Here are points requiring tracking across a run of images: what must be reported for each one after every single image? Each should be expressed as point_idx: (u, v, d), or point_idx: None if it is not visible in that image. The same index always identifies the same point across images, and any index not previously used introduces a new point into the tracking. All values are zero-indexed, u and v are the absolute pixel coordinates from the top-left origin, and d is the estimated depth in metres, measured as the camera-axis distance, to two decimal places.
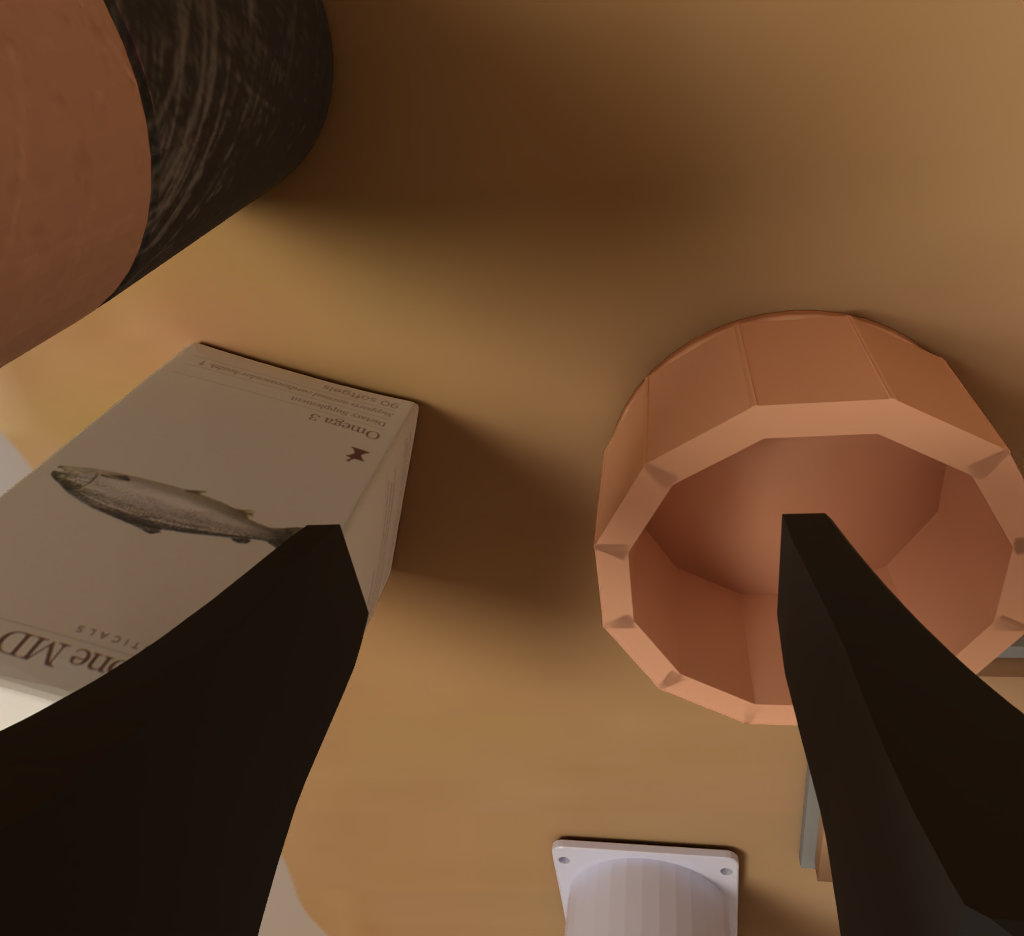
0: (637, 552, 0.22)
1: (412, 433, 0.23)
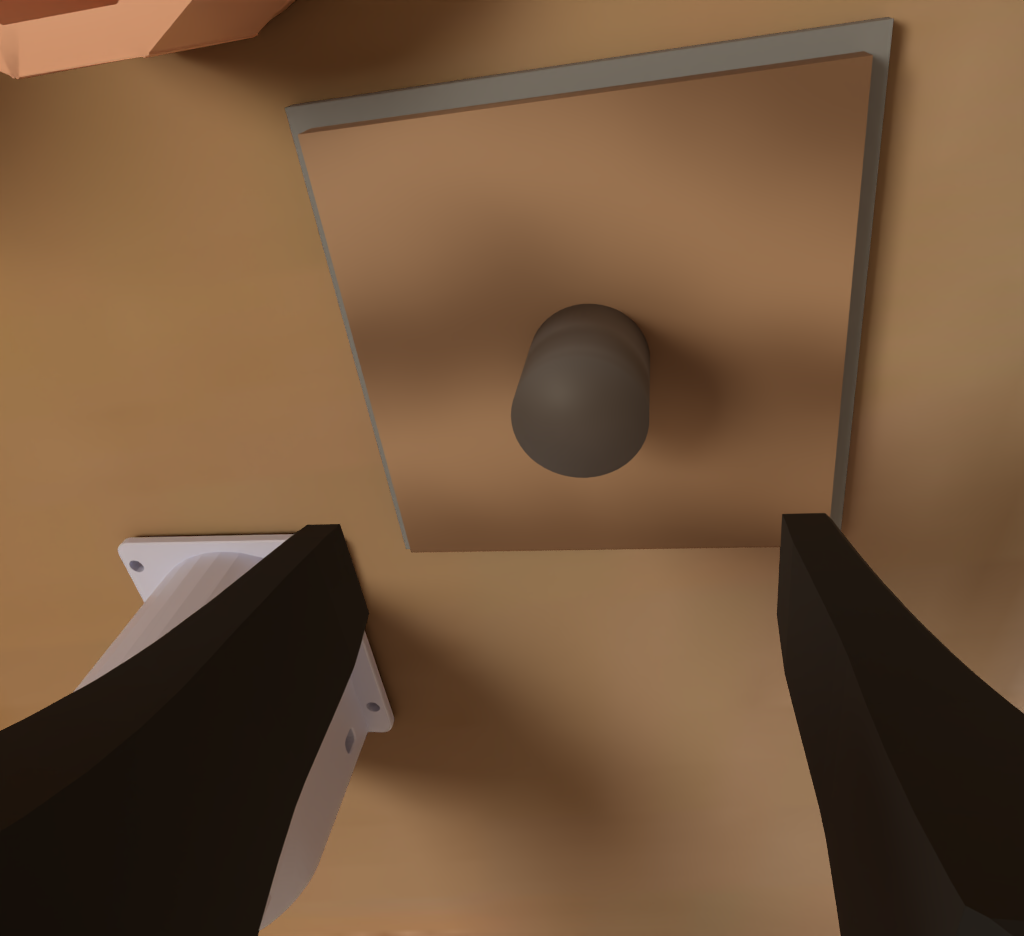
0: None
1: None
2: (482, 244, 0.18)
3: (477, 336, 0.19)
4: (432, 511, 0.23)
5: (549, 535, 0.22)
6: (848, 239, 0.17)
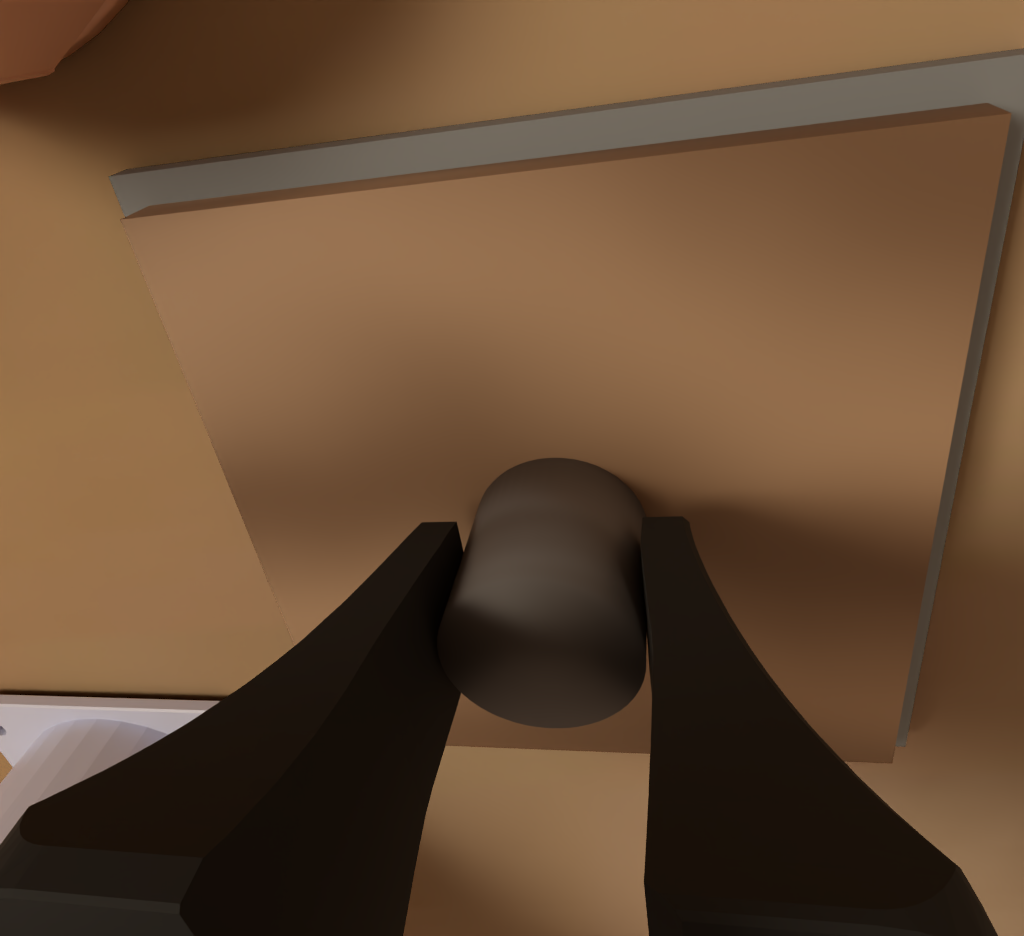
0: None
1: None
2: (401, 375, 0.12)
3: (402, 494, 0.14)
4: None
5: (513, 732, 0.17)
6: (950, 384, 0.11)
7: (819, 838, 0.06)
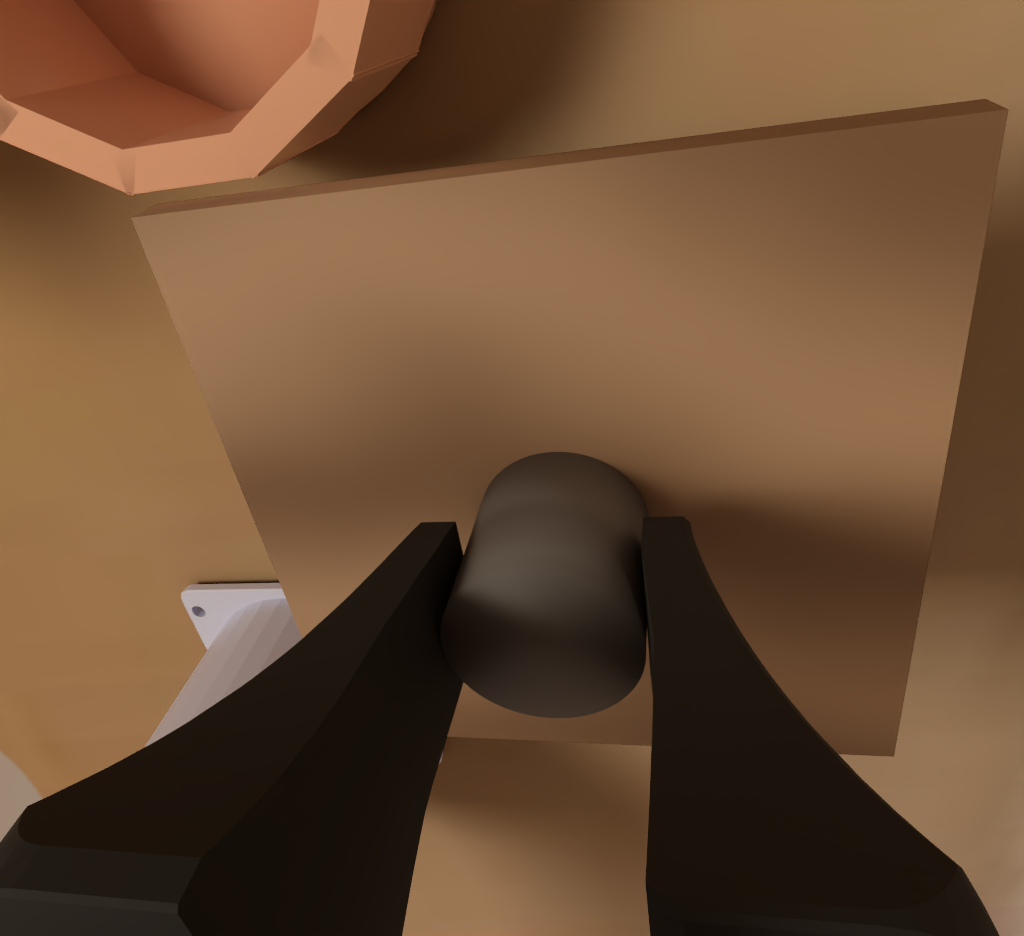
0: None
1: None
2: (406, 370, 0.12)
3: (407, 487, 0.14)
4: None
5: (517, 724, 0.17)
6: (949, 379, 0.11)
7: (820, 838, 0.06)
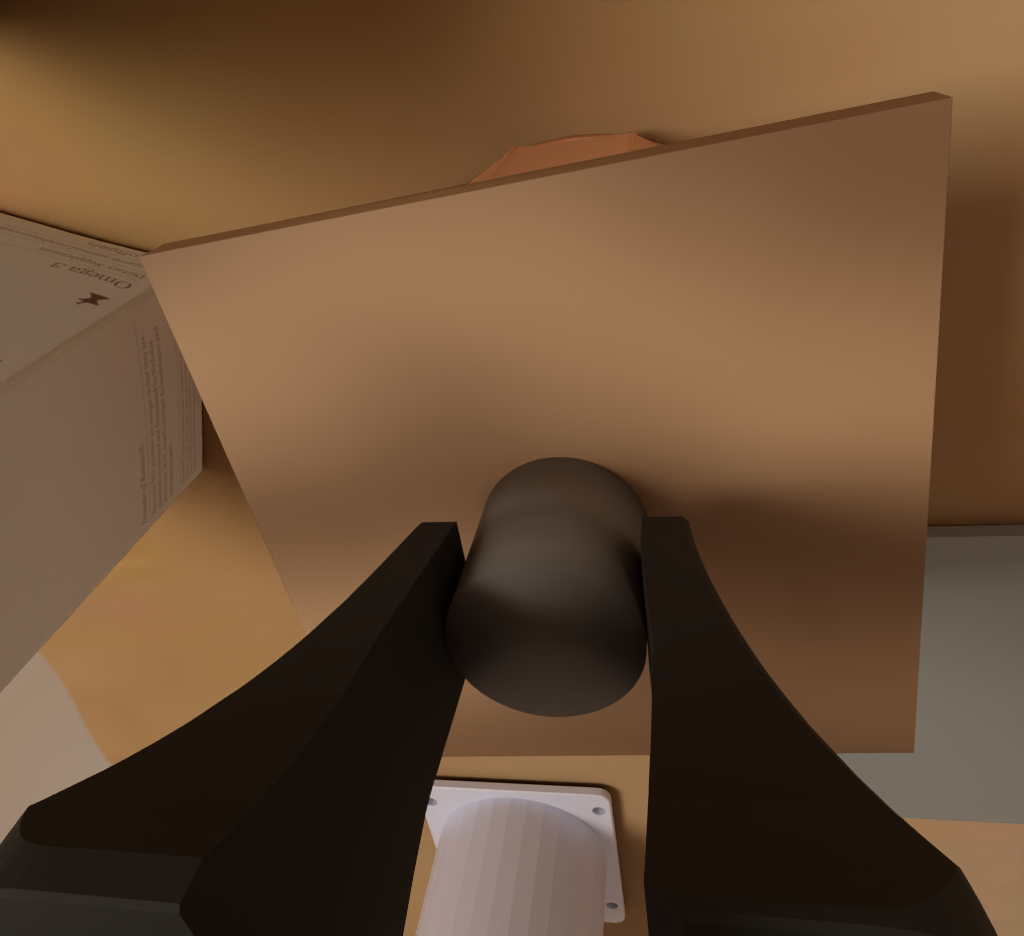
0: None
1: None
2: (403, 386, 0.13)
3: (411, 502, 0.14)
4: None
5: (534, 739, 0.17)
6: (925, 360, 0.11)
7: (819, 838, 0.06)
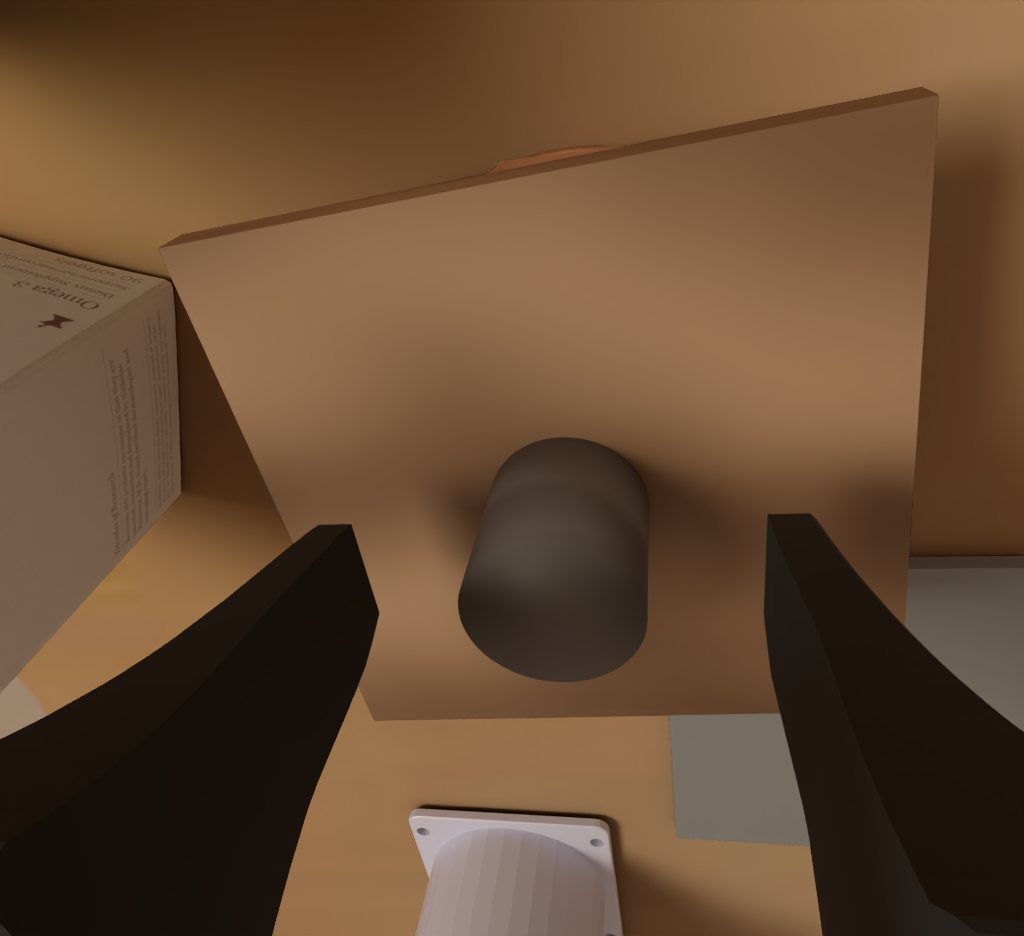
0: None
1: (163, 315, 0.20)
2: (414, 371, 0.14)
3: (422, 480, 0.15)
4: (392, 677, 0.18)
5: (540, 702, 0.18)
6: (912, 344, 0.12)
7: None
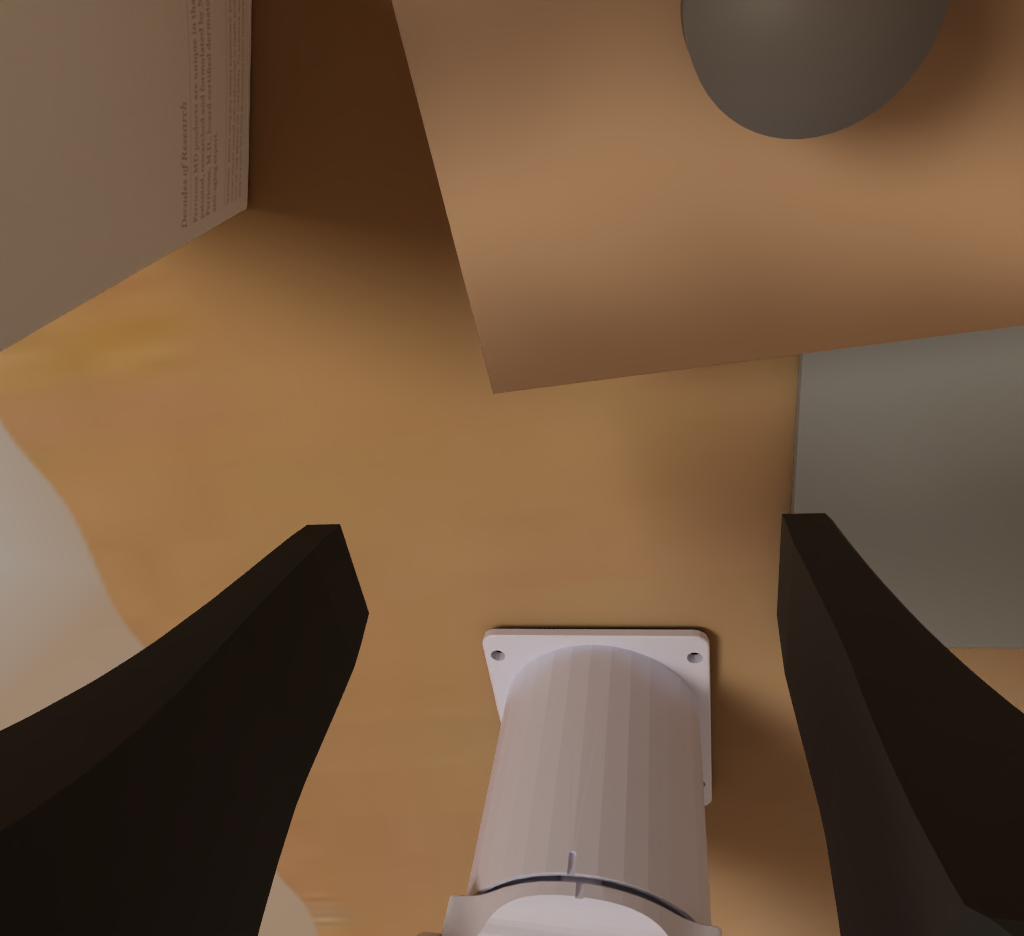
0: None
1: None
2: None
3: None
4: (523, 320, 0.15)
5: (702, 341, 0.15)
6: None
7: None
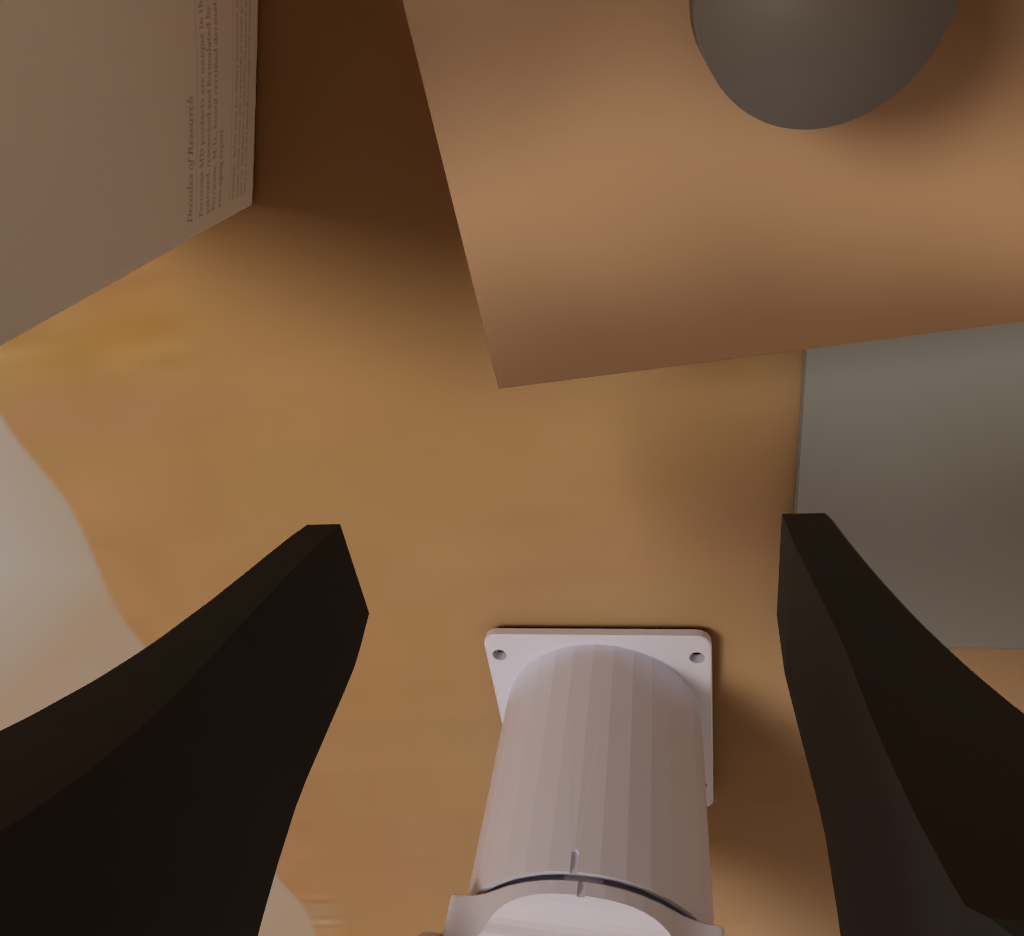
0: None
1: None
2: None
3: None
4: (529, 314, 0.15)
5: (709, 336, 0.15)
6: None
7: None
